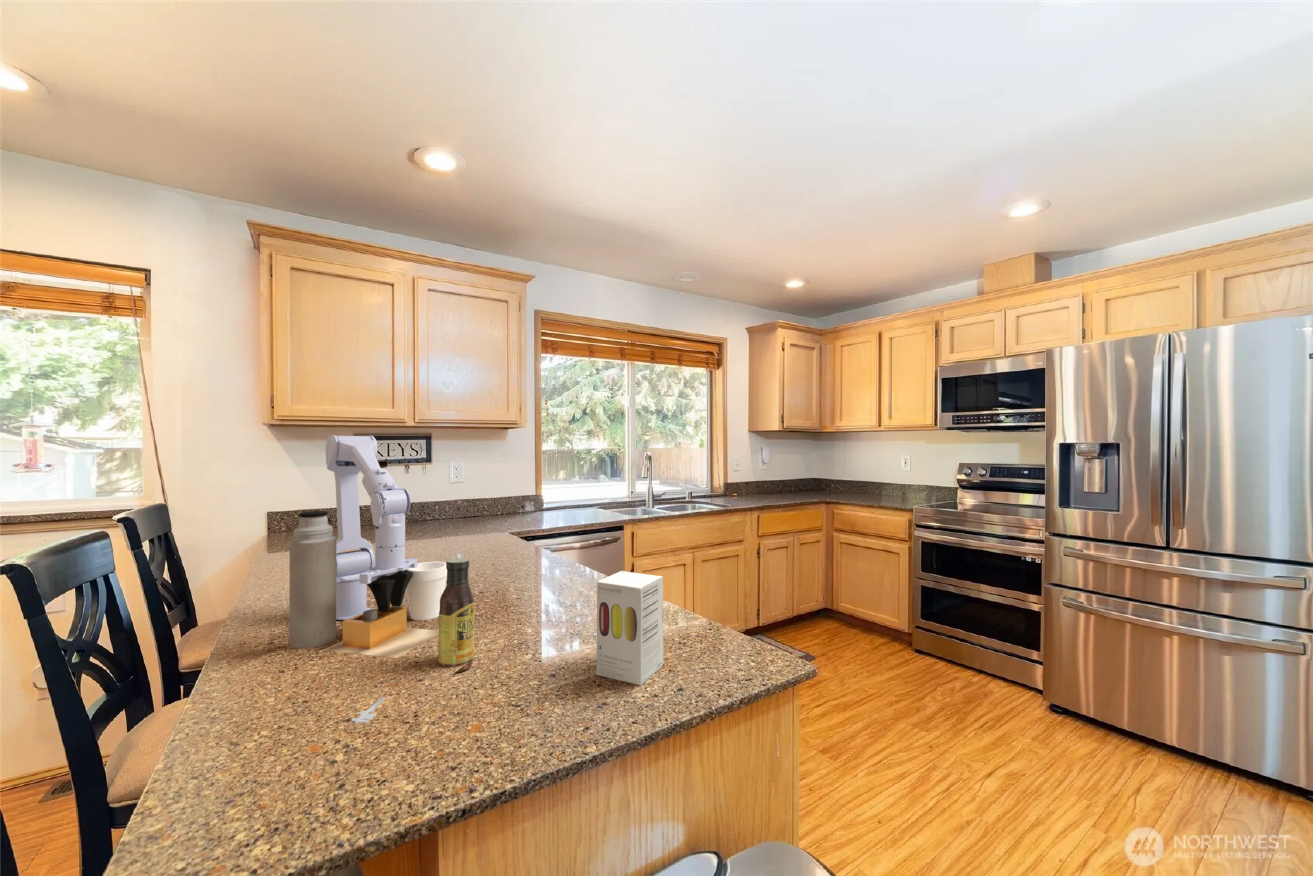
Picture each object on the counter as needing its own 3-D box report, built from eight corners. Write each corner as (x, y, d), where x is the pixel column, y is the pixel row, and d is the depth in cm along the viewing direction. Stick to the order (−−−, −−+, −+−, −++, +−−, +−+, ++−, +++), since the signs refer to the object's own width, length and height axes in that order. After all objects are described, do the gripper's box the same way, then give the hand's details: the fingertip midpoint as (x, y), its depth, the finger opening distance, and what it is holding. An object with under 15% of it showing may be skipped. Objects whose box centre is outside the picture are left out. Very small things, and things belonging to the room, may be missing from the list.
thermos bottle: (310, 639, 107) (310, 508, 108) (345, 640, 107) (345, 509, 107) (279, 655, 100) (279, 513, 100) (316, 656, 99) (316, 514, 99)
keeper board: (322, 657, 98) (322, 619, 98) (377, 631, 112) (377, 598, 112) (396, 666, 94) (396, 625, 94) (444, 638, 108) (444, 603, 108)
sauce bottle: (461, 676, 90) (461, 565, 90) (430, 673, 91) (430, 563, 91) (481, 661, 96) (481, 557, 96) (452, 658, 97) (452, 556, 98)
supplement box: (594, 675, 90) (594, 581, 90) (620, 656, 98) (620, 569, 98) (642, 686, 86) (641, 587, 86) (664, 665, 94) (664, 574, 94)
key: (410, 687, 87) (391, 686, 87) (410, 681, 87) (391, 681, 87) (366, 726, 75) (345, 726, 75) (366, 720, 75) (345, 719, 75)
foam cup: (456, 619, 120) (455, 564, 120) (420, 631, 112) (419, 573, 112) (431, 612, 125) (431, 560, 125) (395, 624, 117) (395, 567, 117)
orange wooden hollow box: (381, 628, 110) (381, 605, 110) (406, 630, 108) (406, 607, 108) (342, 646, 100) (342, 621, 100) (369, 649, 98) (369, 623, 99)
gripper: (380, 553, 100) (379, 621, 100) (429, 539, 114) (428, 599, 114) (350, 551, 102) (350, 618, 102) (402, 538, 116) (402, 597, 116)
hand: (390, 608), depth 108 cm, fingers open, 3 cm apart
